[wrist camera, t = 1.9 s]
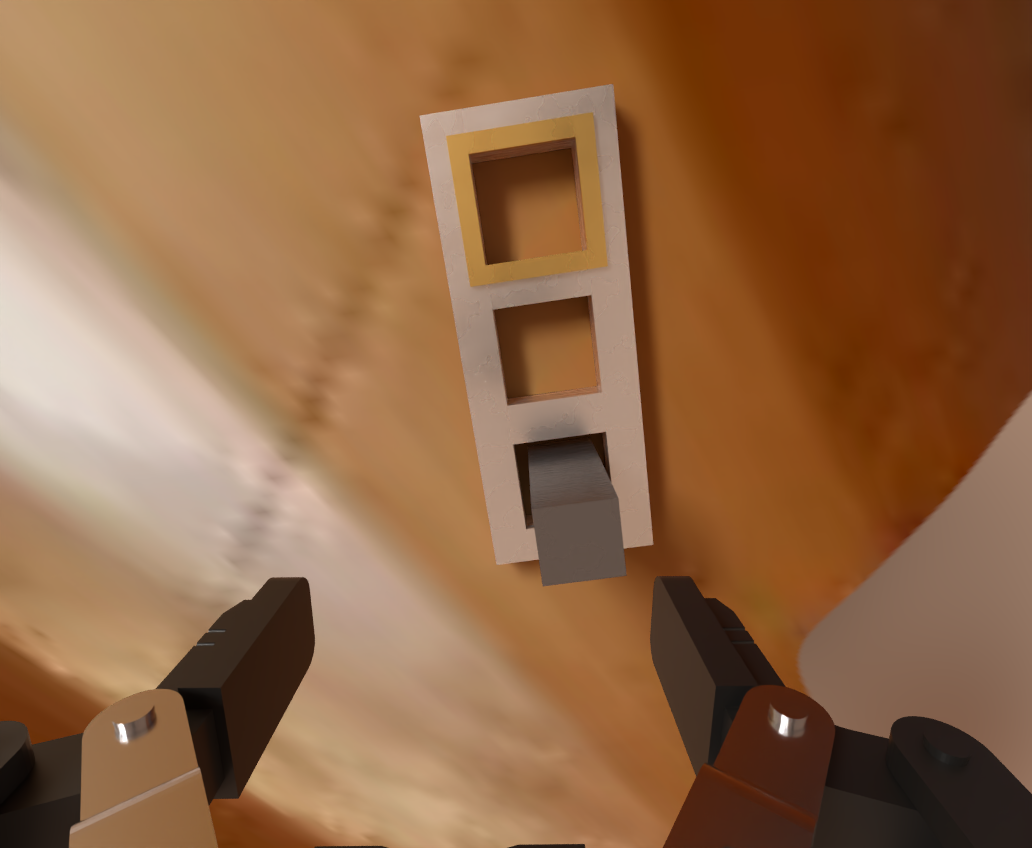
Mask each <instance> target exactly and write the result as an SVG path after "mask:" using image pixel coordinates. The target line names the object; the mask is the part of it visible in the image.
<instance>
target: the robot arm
mask: <svg viewBox="0 0 1032 848" xmlns="http://www.w3.org/2000/svg"><path fill="white" fill-rule="evenodd" d="M650 643H651V653H652V659H653V663H654V666H655V669H656V671H657V674H658V677H659V679H660V682H661V684H662V687H663V690H664V692H665V695H666V698H667V700H668V703H669V706H670V708H671V711H672V713H673V716H674V719H675V721H676V724H677V727H678V729H679V732H680V735H681V737H682V740H683V742H684V745H685V748H686V750H687V753H688V756H689V758H690V761H691V764H692V766H693V769H694V771H695V774H696V779H695V781H694V783H693V785H692V787H691V789H690V791H689V794H688V796H687V798H686V800H685V802H684V804H683V806H682V808H681V810H680V813H679V815H678V817H677V819H676V821H675V823H674V825H673V827H672V829H671V832H670V834H669V836H668V838H667V840H666V842H665V844H664V846H663V848H1032V794H1031V793H1030V792H1029V791H1028V790H1027V789H1026V788H1025V787H1024V786H1023V785H1022V784H1021V782H1019V780H1018V779H1017V778H1015V776H1014V775H1013V774H1012V773H1011V772H1010V771H1009V770H1008V769H1007V768H1006V767H1005V766H1004V765H1003V764H1002V763H1001V762H1000V761H999V760H998V759H997V758H996V757H995V756H994V755H993V753H991V752H990V751H989V750H988V749H987V748H986V747H985V746H984V745H983V744H981V743H980V742H979V741H977V740H976V739H974V738H973V737H971V736H970V735H968V734H966V733H965V732H963V731H961V730H959V729H957V728H955V727H953V726H951V725H949V724H946V723H943V722H941V721H937V720H934V719H930V718H925V717H917V716H908V717H903V718H900V719H898V720H897V721H895V722H894V723H893V725H892V727H891V732H890V737H889V739H887V738H883V737H879V736H874V735H870V734H866V733H862V732H857V731H853V730H849V729H845V728H842V727H839V726H836V725H834V723H833V720H832V718H831V717H830V715H829V714H828V713H827V711H826V710H825V709H824V708H823V707H822V706H821V705H819V704H818V703H817V702H816V701H814V700H813V699H811V698H810V697H808V696H806V695H805V694H803V693H801V692H798V691H796V690H793V689H790V688H787V687H785V685H784V684H783V682H782V681H781V679H780V678H779V676H778V675H777V674H776V672H775V671H774V669H773V668H772V666H771V665H770V663H769V662H768V661H767V659H766V658H765V656H764V655H763V653H762V652H761V650H760V649H759V648H758V646H757V645H756V644H754V640H753V639H752V637H751V636H750V634H749V633H748V632H747V631H745V627H744V626H743V624H742V623H741V621H740V620H739V619H738V617H737V616H736V614H735V613H734V612H733V611H732V610H731V609H729V608H728V607H727V606H725V605H724V604H722V603H721V602H720V601H718V600H717V599H716V598H704V597H703V596H702V594H701V593H700V591H699V589H698V588H697V586H696V585H695V583H694V581H693V580H692V578H691V577H689V576H657V577H656V579H655V582H654V590H653V605H652V619H651V634H650ZM314 646H315V634H314V625H313V616H312V606H311V597H310V588H309V583H308V581H307V579H306V578H304V577H281V578H270V579H269V580H268V581H267V582H266V583H265V584H264V585H263V587H262V588H261V589H260V590H259V591H258V593H257V594H256V595H255V596H254V597H253V599H252V600H243V601H242V602H240V603H239V604H237V605H236V606H234V607H232V608H231V609H229V610H228V611H226V612H225V613H223V614H222V615H221V616H220V617H219V619H218V620H217V621H216V622H215V623H214V624H213V625H212V626H211V627H210V629H209V632H208V633H205V634H204V635H203V636H202V638H201V639H200V640H199V641H198V642H197V646H194V647H193V648H192V649H191V650H190V651H189V652H188V653H187V654H186V655H185V657H184V658H183V659H182V660H181V661H180V662H179V663H178V664H177V666H176V667H175V668H174V669H173V670H172V671H171V672H170V673H169V675H168V676H167V677H166V678H165V679H164V680H163V681H162V682H161V684H160V685H159V686H158V687H157V688H156V689H154V690H148V691H143V692H140V693H137V694H133V695H131V696H128V697H126V698H124V699H122V700H120V701H118V702H116V703H114V704H113V705H111V706H109V707H108V708H106V709H105V710H104V711H102V712H101V713H100V714H99V715H97V716H96V717H95V718H94V719H93V720H92V721H91V722H90V723H89V725H88V726H87V728H86V729H85V731H84V733H81V734H77V735H72V736H68V737H64V738H60V739H55V740H51V741H47V742H42V743H38V744H34V745H32V744H31V741H30V737H29V733H28V730H27V727H26V726H25V725H24V724H22V723H20V722H16V721H1V722H0V848H218V846H217V841H216V837H215V832H214V828H213V824H212V819H211V815H210V810H209V805H210V803H211V802H212V800H213V799H238V798H239V797H240V795H241V793H242V791H243V789H244V787H245V785H246V783H247V782H248V780H249V778H250V776H251V774H252V772H253V770H254V769H255V767H256V765H257V763H258V761H259V759H260V757H261V756H262V754H263V752H264V750H265V748H266V746H267V744H268V743H269V741H270V739H271V737H272V735H273V733H274V731H275V730H276V728H277V726H278V724H279V722H280V720H281V718H282V717H283V715H284V713H285V711H286V709H287V707H288V705H289V703H290V702H291V700H292V698H293V696H294V694H295V692H296V690H297V689H298V687H299V685H300V683H301V681H302V679H303V677H304V676H305V674H306V672H307V670H308V668H309V666H310V664H311V661H312V657H313V653H314ZM315 848H387V847H383V846H323V847H315ZM509 848H585V844H550V845H516V846H512V847H509Z"/></svg>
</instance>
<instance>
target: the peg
mask: <svg viewBox="0 0 1032 848" xmlns="http://www.w3.org/2000/svg"><path fill="white" fill-rule="evenodd" d="M528 461H529V477H530V494H531V510H532V517H533V523H534V530H535V537H536V543H537V550H538V557H539V564H540V570H541V577H542V584H543V586H549V585H557V584H564V583H572V582H580V581H588V580H596V579H604V578H612V577H620V576H626V566H625V556H624V547H623V537H622V527H621V518H620V508H619V498H618V496H617V494H616V492H615V489H614V487H613V485H612V483H611V481H610V479H609V477H608V475H607V472H606V470H605V468H604V466H603V464H602V462H601V460H600V458H599V455H598V453H597V451H596V449H595V447H594V445H593V443H592V441H591V438H590V437H585V438H577V439H570V440H563V441H556V442H548V443H541V444H534V445H528Z"/></svg>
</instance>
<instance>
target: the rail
mask: <svg viewBox="0 0 1032 848" xmlns="http://www.w3.org/2000/svg"><path fill="white" fill-rule="evenodd" d="M420 121H421V127H422V133H423V138H424V144H425V150H426V156H427V162H428V168H429V173H430V179H431V185H432V191H433V197H434V203H435V208H436V214H437V220H438V226H439V232H440V237H441V243H442V249H443V255H444V261H445V267H446V272H447V278H448V284H449V290H450V296H451V302H452V307H453V313H454V319H455V325H456V331H457V337H458V342H459V348H460V354H461V360H462V366H463V371H464V377H465V383H466V389H467V395H468V401H469V406H470V412H471V418H472V424H473V430H474V436H475V441H476V447H477V453H478V459H479V465H480V470H481V476H482V482H483V488H484V494H485V500H486V505H487V511H488V517H489V523H490V529H491V535H492V540H493V546H494V552H495V558H496V564H497V565H500V564H508V563H516V562H523V561H531V560H539V557H538V550H537V543H536V537H535V530H534V523H533V517H532V515H527V516H526V515H525V508H524V502H523V495H522V489H521V482H520V476H519V469H518V462H517V456H516V449H515V444H521V443H528V442H535V441H542V440H550V439H557V438H564V437H571V436H579V435H586V434H593V433H600V432H602V437H603V446H604V455H605V464H606V472H607V475H608V477H609V479H610V481H611V483H612V485H613V487H614V489H615V492H616V494H617V496H618V498H619V508H620V518H621V527H622V537H623V547H624V548H632V547H640V546H647V545H653V535H652V524H651V512H650V501H649V489H648V478H647V467H646V455H645V444H644V432H643V421H642V409H641V398H640V386H639V375H638V363H637V352H636V341H635V329H634V318H633V306H632V295H631V283H630V272H629V260H628V249H627V237H626V226H625V215H624V203H623V192H622V180H621V169H620V157H619V146H618V134H617V123H616V111H615V100H614V89H613V84H610V85H604V86H598V87H592V88H586V89H580V90H574V91H568V92H562V93H555V94H549V95H543V96H537V97H531V98H525V99H519V100H513V101H507V102H501V103H494V104H488V105H482V106H476V107H470V108H464V109H458V110H452V111H446V112H440V113H433V114H427V115H421V116H420ZM567 148H571V150H572V159H573V168H574V177H575V187H576V196H577V205H578V214H579V224H580V233H581V242H582V251H577V252H571V253H564V254H557V255H551V256H544V257H538V258H531V259H524V260H518V261H511V262H505V263H498V264H492V265H487V259H486V252H485V246H484V239H483V233H482V226H481V220H480V213H479V206H478V200H477V193H476V187H475V180H474V174H473V167H472V164H473V163H479V162H485V161H491V160H498V159H504V158H510V157H516V156H523V155H529V154H535V153H541V152H548V151H554V150H560V149H567ZM581 296H587V298H588V307H589V316H590V326H591V335H592V344H593V353H594V363H595V372H596V381H597V386H594V387H587V388H580V389H573V390H566V391H559V392H552V393H545V394H538V395H531V396H524V397H517V398H510V399H508V397H507V390H506V384H505V377H504V371H503V364H502V357H501V351H500V344H499V338H498V331H497V325H496V318H495V311H494V309H500V308H507V307H514V306H521V305H527V304H534V303H541V302H548V301H554V300H561V299H568V298H575V297H581Z"/></svg>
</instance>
